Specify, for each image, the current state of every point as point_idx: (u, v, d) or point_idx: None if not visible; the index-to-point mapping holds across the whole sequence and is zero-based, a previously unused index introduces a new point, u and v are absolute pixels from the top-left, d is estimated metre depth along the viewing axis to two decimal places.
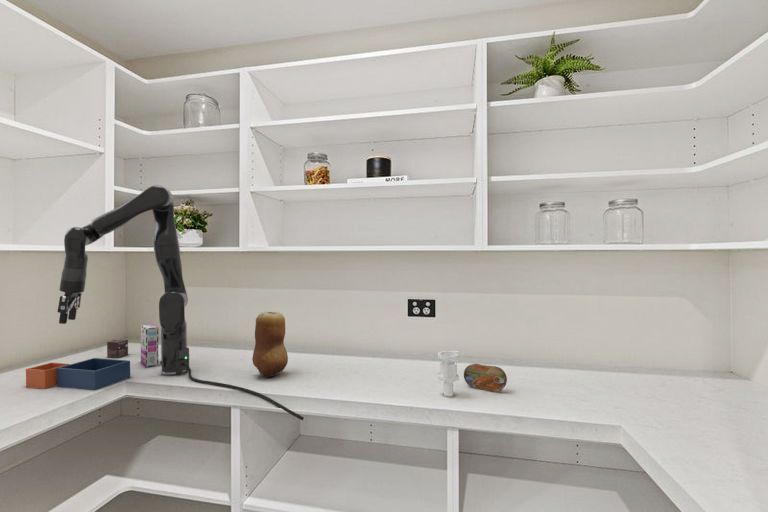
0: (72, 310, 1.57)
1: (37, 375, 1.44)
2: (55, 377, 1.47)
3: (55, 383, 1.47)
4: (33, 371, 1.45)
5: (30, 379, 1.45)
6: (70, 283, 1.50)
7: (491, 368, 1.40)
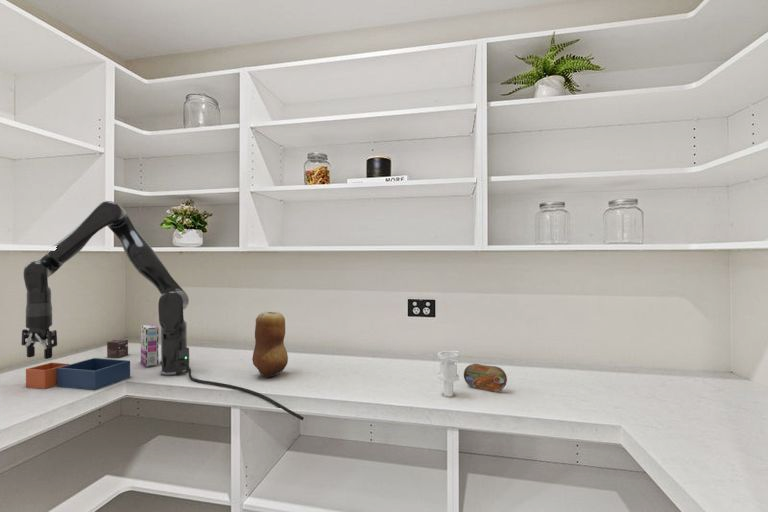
0: (31, 347, 1.51)
1: (37, 375, 1.44)
2: (55, 377, 1.47)
3: (55, 383, 1.47)
4: (33, 371, 1.45)
5: (30, 379, 1.45)
6: (47, 317, 1.49)
7: (491, 368, 1.40)
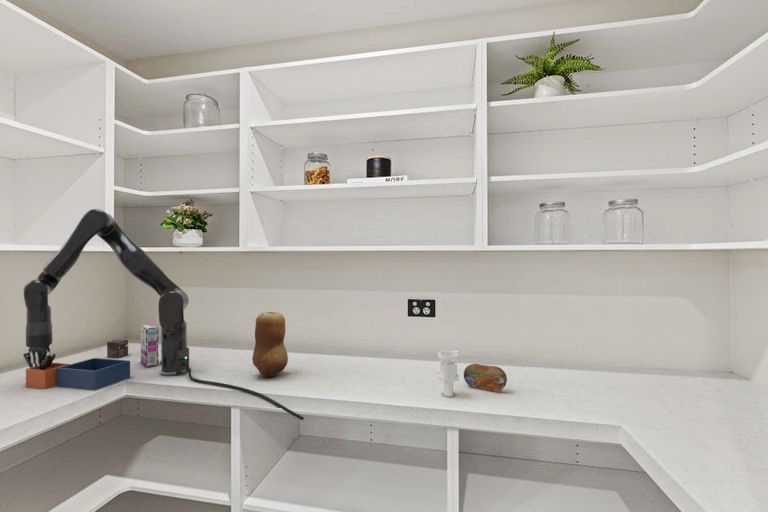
0: None
1: (37, 375, 1.44)
2: (55, 377, 1.47)
3: (55, 383, 1.47)
4: (33, 371, 1.45)
5: (30, 379, 1.45)
6: (47, 336, 1.49)
7: (491, 368, 1.40)
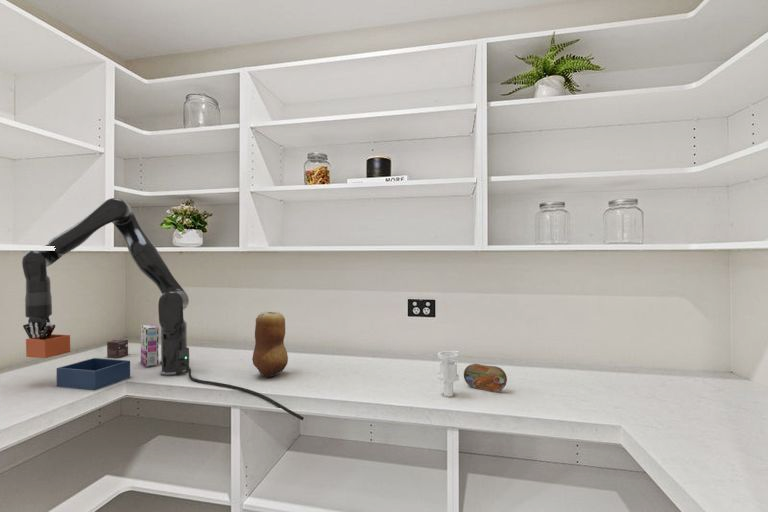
0: None
1: (37, 345, 1.44)
2: (55, 347, 1.47)
3: (55, 353, 1.47)
4: (33, 341, 1.45)
5: (30, 349, 1.45)
6: (47, 306, 1.49)
7: (491, 368, 1.40)
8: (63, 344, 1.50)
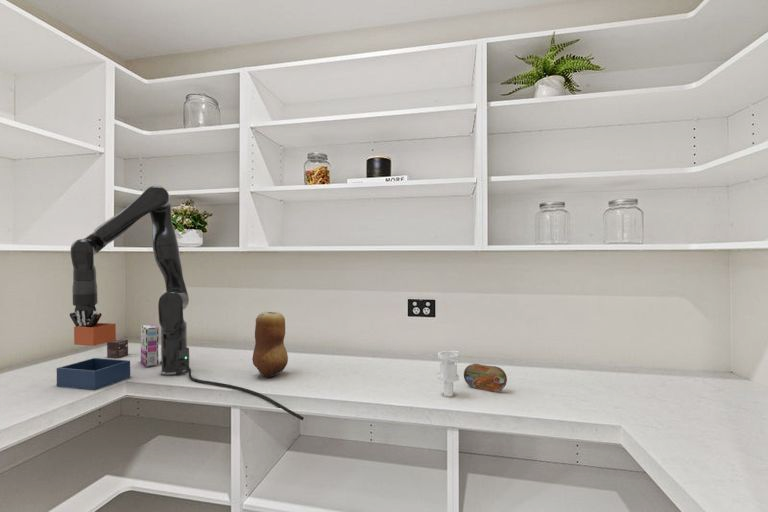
0: None
1: (86, 333, 1.46)
2: (102, 335, 1.49)
3: (102, 341, 1.49)
4: (81, 329, 1.46)
5: (78, 337, 1.47)
6: (93, 295, 1.51)
7: (491, 368, 1.40)
8: (109, 332, 1.51)
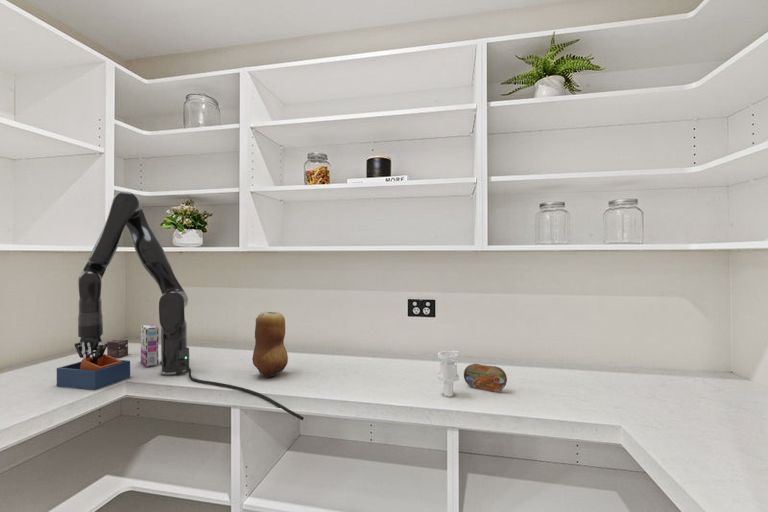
0: None
1: (92, 369, 1.46)
2: None
3: None
4: (89, 364, 1.47)
5: None
6: (99, 326, 1.51)
7: (491, 368, 1.40)
8: None
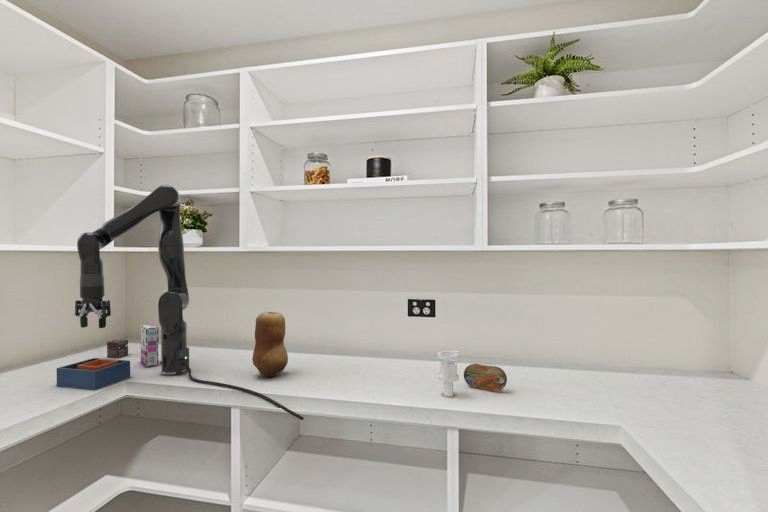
0: (84, 317, 1.54)
1: None
2: None
3: None
4: (85, 367, 1.47)
5: None
6: (101, 288, 1.53)
7: (491, 368, 1.40)
8: None
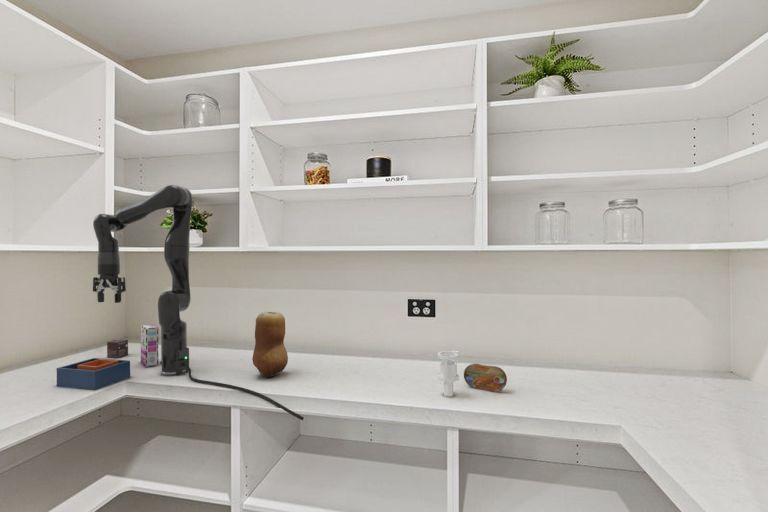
0: (101, 293, 1.66)
1: None
2: None
3: None
4: (85, 367, 1.47)
5: None
6: (116, 266, 1.65)
7: (491, 368, 1.40)
8: None
